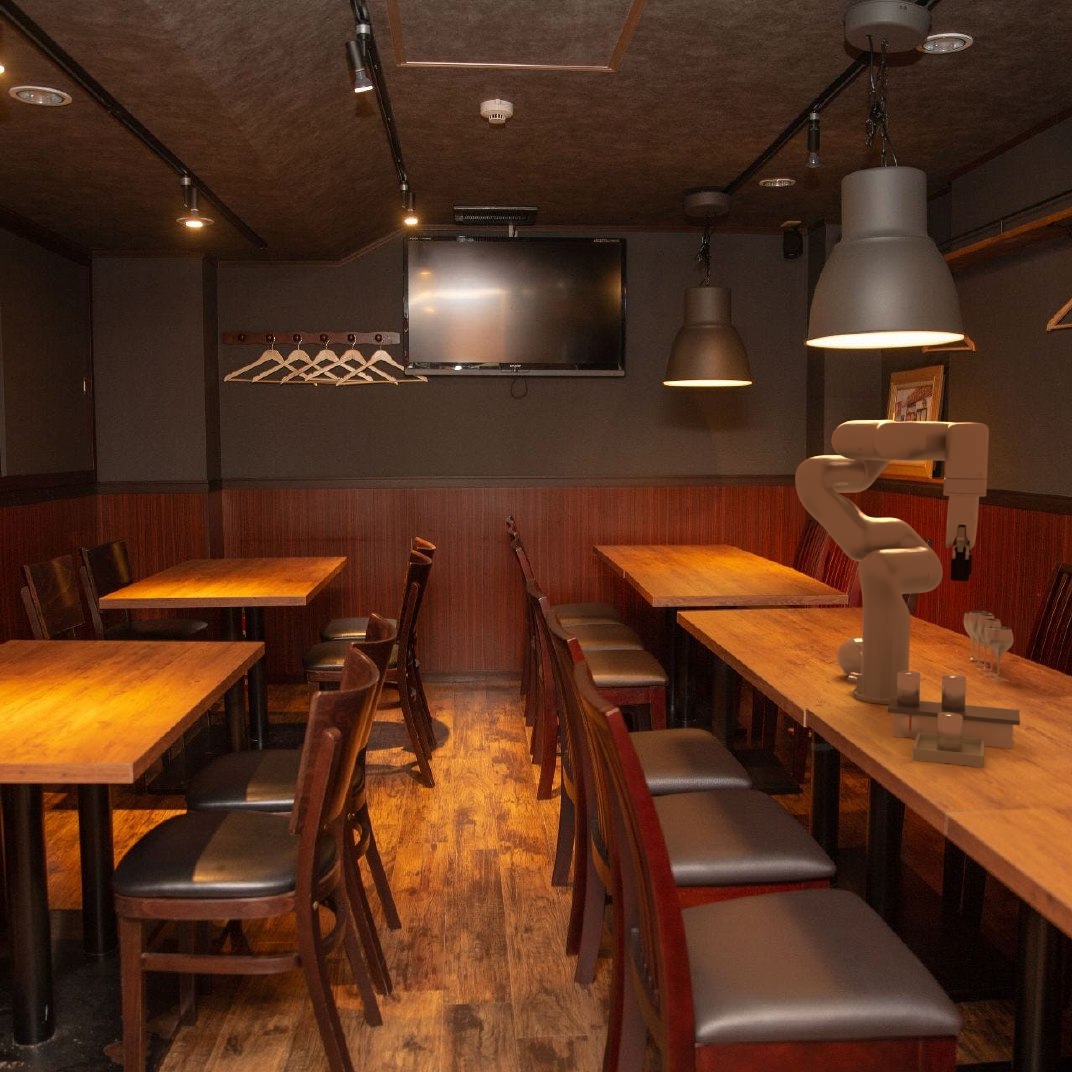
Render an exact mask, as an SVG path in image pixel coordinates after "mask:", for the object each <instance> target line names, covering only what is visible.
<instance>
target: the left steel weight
mask: <svg viewBox="0 0 1072 1072" xmlns="http://www.w3.org/2000/svg"><path fill="white" fill-rule="evenodd" d="M920 695H921V673H920V672H918V671H914V670H909V671H898V672H897V705H899V706H902V707H919V702H920V701H921V700H920V697H921V696H920Z"/></svg>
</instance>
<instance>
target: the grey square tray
mask: <svg viewBox="0 0 1072 1072" xmlns="http://www.w3.org/2000/svg"><path fill="white" fill-rule="evenodd" d="M914 740H915V741H914V744H913V747H912V760H913V761H918V760H921V761H920V762H927V761H928V763H929V762H930V763H937V764H944V763H951V764H950V765H953V764H959V765H958V766H962V765H966V766H965V767H971V766H973V768H980V769H983V768H984V760H985V759H984V758H985V746H984V742H985V739H976V738H966V737H962V751H961V752H949V751H940V750H937V734H928V733H917V737H916V739H914Z"/></svg>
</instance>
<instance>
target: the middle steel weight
mask: <svg viewBox="0 0 1072 1072" xmlns="http://www.w3.org/2000/svg"><path fill="white" fill-rule="evenodd" d="M941 682H942V683H941V703H942V704H941V708H942V709H943V710H946V711H952V712H962V711H965V705H966V692H967V691H966V688H967V677H966V676H965V675H961V674H954V673H950V674H949V673H947V674H942V681H941Z"/></svg>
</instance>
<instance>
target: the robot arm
mask: <svg viewBox="0 0 1072 1072" xmlns="http://www.w3.org/2000/svg"><path fill="white" fill-rule="evenodd" d="M989 430H990V429H989V427H988V425H987V424H985V423H981V422H951V421H947V422H946V421H895V420H892V419H881V420H877V419H875V420H871V419H870V420H868V419H867V420H866V419H865V420H864V419H863V420H850V421H846V422H844V423H842V424H840V425H838V426H837V427H836V428H835V430H834V431H833V432H832V435H831V446H832V448H833V450H834V452H835V453H837V454H838V455H818V456H813V457H809V458H807V459H805V460H804V461H802V462H800V464H799V465H798V467H797V468H796V471H795V475H794V476H795V477H794V478H795V480H794V482H795V488H796V489H795V490H796V493H797V497H798V498H799V501H800V502H801V505H802V506H803V507H804V508H805V510H806V511H807V512H808V513H809V514H810V515H811V517H813V519H814V520H816V521H817V522H818V523H819V525H821V526H822V527H823V529H824V530H825V531H826V532H827V534H828V535H829V536H830V537H831V538H832V539H833V541H834V542H835V543H836V544H837V545H838V547H839V548H840V549H841V550H842V552H843V553H844V554H845V555H846V556H847V557H848V558H849V559H851V560H852V561H854V562H860V563H859V566H858V578H859V584H860V591H861V596H862V597H861V598H862V630H861V631H862V633H861V634H862V635H861V637H862V666H861V674H859V673H854V672H851V673H850V675H847V679H846V680H847V682H848V683H852V684H856V688H854V689H853V691H852V693H853V694H852V696H853V697H854V698H855V699H857V700H858V701H861V702H862V701H863V702H866V703H873V704H878V705H889V704H890V701H891V699H892V698H894V699H897V672H898V671H910V646H911V643H910V642H911V641H910V639H911V614H910V611H909V610H910V609H909V608H908V605H907V603H906V602H905V599H904V597H903V595H905V594H907V595H908V594H921V593H928V592H931V591H933V590H935V589H936V588H937V587H938V586H939V585H940V583H941V582H942V579H943V574H944V571H943V566H942V563H941V560H940V558H939V557H938V555H937V553H936V552H935V551H934V550H933V549H932V548H931V547H930V545H929V544H928V543H927V542H926V541H925V540H924V539H923V538H922V537H921V536H920V535H919V534H918V533H917V532H916V531H915V530H914V528H912V526H911V525H909V524H908V523H907V522H906V521H904V520H903V519H902V520H901V519H899V518H895V517H872V516H871V517H870V516H868V515H866V514H865V513H864V512H862V510H860V508H859V507H858V506H857V505H856V504H855V502H853V501H852V500H851V499H849V498H847V497H846V496H844V495H842V494H843V493H844V494H846V493H847V494H848V493H849V494H850V493H851V494H852V493H860V492H863V491H865V490H867V489H868V488H869V487H870V486H872V485H873V483H874V482H875V481H876V480H877V479H878V477H879V476H880V475H881V473H882V472H883V471H884V470H885V469H886V467H887V466H888V465H889V464H890V462H892V461H908V462H909V461H911V462H912V461H913V462H914V461H934V462H935V461H941V462H942V461H944V470H943V471H944V472H943V473H944V475H943V476H944V478H943V496H946V497H948V502H947V503H948V505H947V513H946V514H947V515H946V517H947V519H946V532H945V533H946V534H945V536H946V538H945V547H946V548H947V549H950V547H951V546H952V558H951V559H950V580H951V581H953V582H969V580H970V576H971V575H972V564H973V563H972V561H973V554H972V548H974V547H975V543H976V537H977V532H978V519H979V505H980V504H979V503H980V498H981V497H987V481H988V479H987V478H988V464H989V463H988V462H989V461H988V457H989V443H990V442H989V437H990V431H989ZM840 493H841V494H840Z"/></svg>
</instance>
